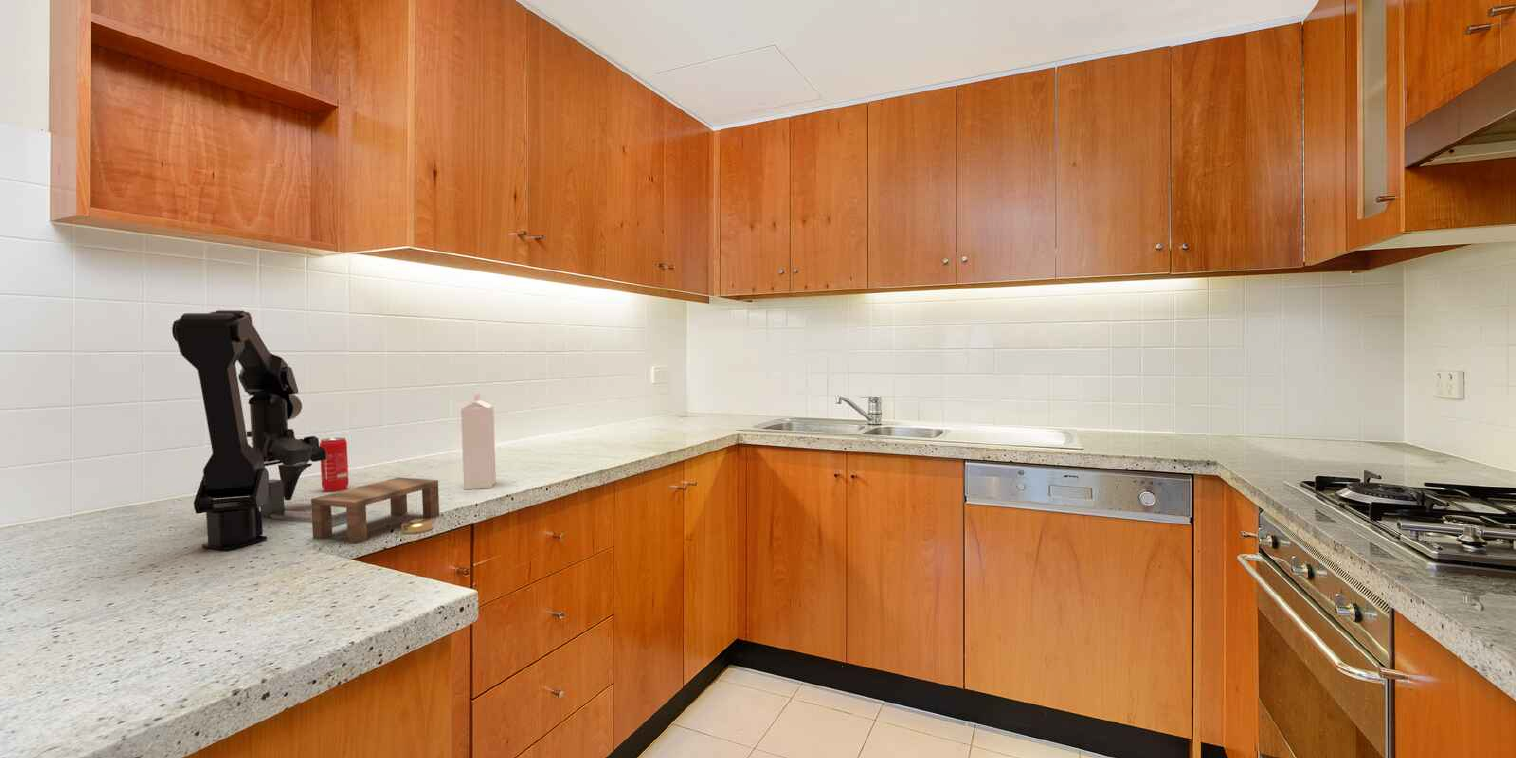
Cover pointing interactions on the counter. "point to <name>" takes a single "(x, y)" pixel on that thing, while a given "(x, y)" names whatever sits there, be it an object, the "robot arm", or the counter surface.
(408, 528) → the brass token
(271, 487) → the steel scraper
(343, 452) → the beverage can
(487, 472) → the milk
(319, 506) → the walnut bench
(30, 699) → the counter surface
